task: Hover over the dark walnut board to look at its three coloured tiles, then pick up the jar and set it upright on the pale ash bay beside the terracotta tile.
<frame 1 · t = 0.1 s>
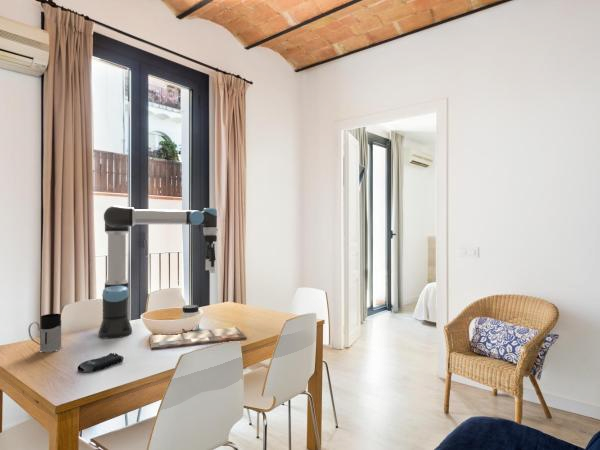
hand: (210, 271, 229), 28 cm above the table, tool pointing down, fingers open, 13 cm apart
jar: (190, 329, 208), on the table
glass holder: (44, 351, 171), on the table
electronic device: (99, 368, 153), on the table
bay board: (197, 338, 191), on the table
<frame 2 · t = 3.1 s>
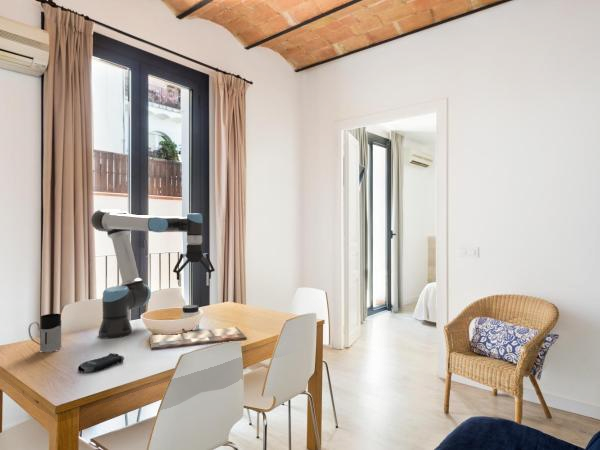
hand: (193, 285, 199), 24 cm above the table, tool pointing down, fingers open, 13 cm apart
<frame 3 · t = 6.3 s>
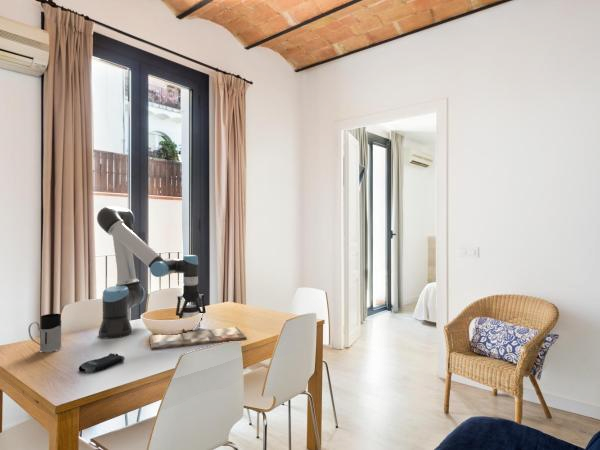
hand: (190, 327, 208), 1 cm above the table, tool pointing down, fingers open, 8 cm apart
jar: (190, 329, 208), on the table, touching gripper
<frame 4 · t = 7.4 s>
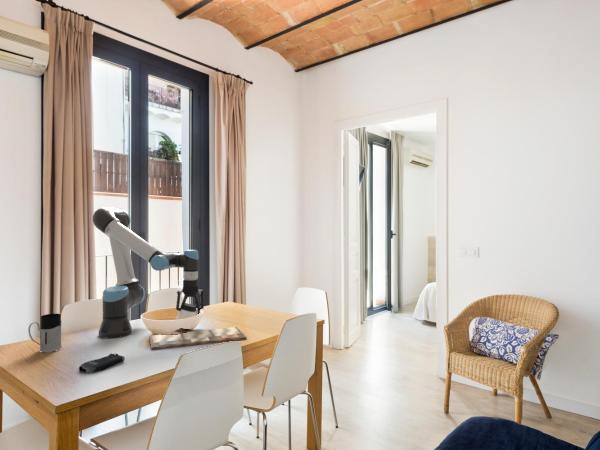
hand: (189, 322, 208), 3 cm above the table, tool pointing down, fingers closed on jar, 6 cm apart
jar: (182, 327, 207), point 1 cm above the table, touching gripper
everything else where it was.
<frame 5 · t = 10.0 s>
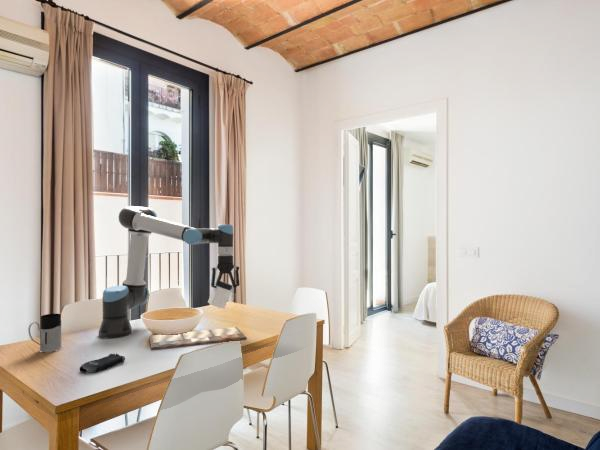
hand: (225, 300, 199), 17 cm above the table, tool pointing down, fingers closed on jar, 7 cm apart
jar: (215, 305, 198), point 14 cm above the table, touching gripper
when the fingers open (5 cm above the table, at t = 12.5 s): jar stays where it is, resting on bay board.
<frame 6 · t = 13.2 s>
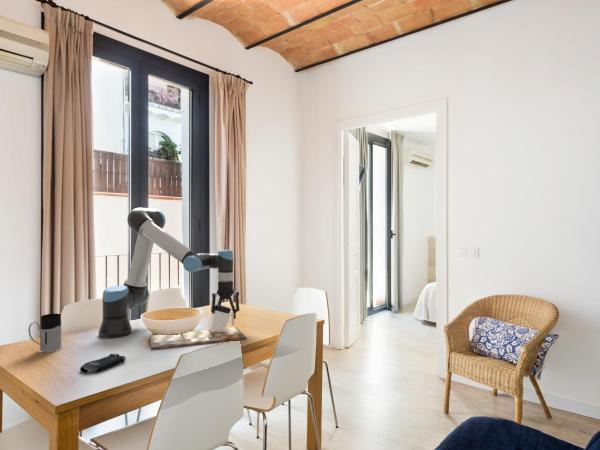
hand: (225, 326, 199), 4 cm above the table, tool pointing down, fingers open, 7 cm apart
jar: (215, 330, 198), point 2 cm above the table, touching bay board
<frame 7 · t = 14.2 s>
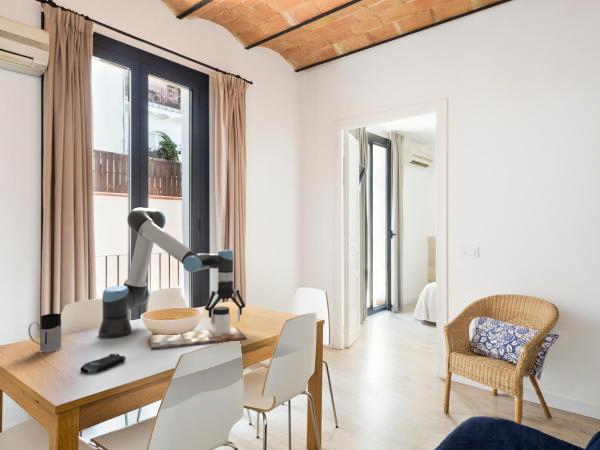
hand: (225, 322, 199), 6 cm above the table, tool pointing down, fingers open, 13 cm apart
jar: (220, 332, 199), point 1 cm above the table, touching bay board
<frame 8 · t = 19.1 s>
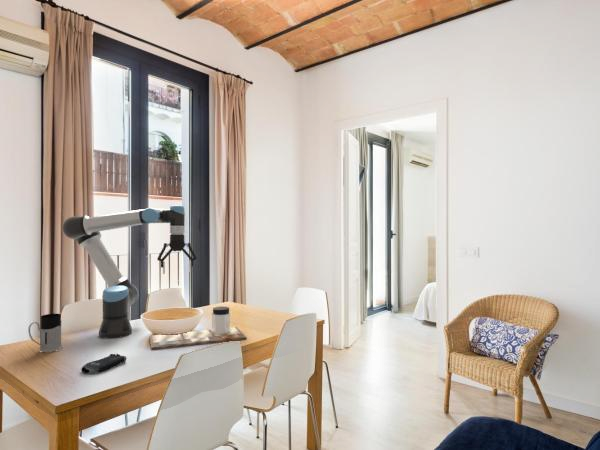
hand: (177, 273, 214), 29 cm above the table, tool pointing down, fingers open, 13 cm apart
at the end: jar inside the target area on the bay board (2.2 cm from its centre), point 1.0 cm above the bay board's base; jar tilted 0°; the gripper is holding nothing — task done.
